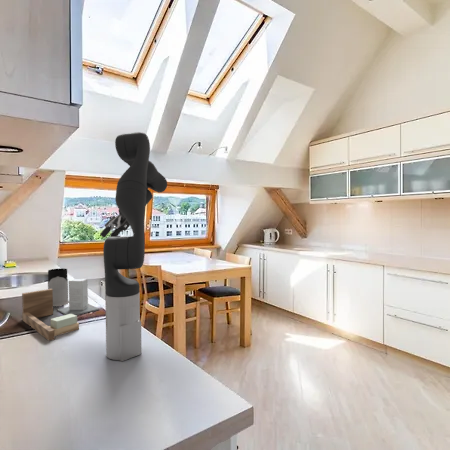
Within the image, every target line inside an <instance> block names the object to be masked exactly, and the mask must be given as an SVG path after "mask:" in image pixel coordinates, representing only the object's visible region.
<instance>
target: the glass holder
mask: <svg viewBox="0 0 450 450" xmlns="http://www.w3.org/2000/svg"><path fill="white" fill-rule="evenodd" d="M47 289H53V306H56V307H61V306H62V305H63V306H67V305H69V304H68V303H69V279H68V268H53V269H48V270H47Z"/></svg>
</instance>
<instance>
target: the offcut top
mask: <svg viewBox="0 0 450 450" xmlns="http://www.w3.org/2000/svg"><path fill="white" fill-rule="evenodd" d="M77 322H78V315H74V314H68V315H64V314H63V315H61V316H57V317H53V318H50V326H51V327H53V328H56V329H59V328H62V327H65V326H69V325H72V324H75V323H77Z"/></svg>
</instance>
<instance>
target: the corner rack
mask: <svg viewBox="0 0 450 450" xmlns="http://www.w3.org/2000/svg"><path fill="white" fill-rule="evenodd" d="M21 296H22V298H21V299H22V300H21V304H22V306H21V307H22V308H21V309H22V314H21V316H22V321H23V322H24V323H25V324H26V325H28V326H29V327H30V326H31V327H30V328H32V329H33V330H34V329H35V330H34V331H36V332H37V333H38V334H39V335H41V336H42V337H43V338H45V339H46V340H48V341H49V342H50V341H53V340H55V336H54V330H53V329H52V328H50V327H49V326H50V325H47V324H46V323H44V322H43V321H42V320H40V319H39V318H42V317H47V316H52V315H54V307H53V289H48V288H46V289H41V290H35V291H28V292H22V293H21Z"/></svg>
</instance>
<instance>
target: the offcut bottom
mask: <svg viewBox="0 0 450 450" xmlns="http://www.w3.org/2000/svg"><path fill="white" fill-rule="evenodd" d="M48 326H49V327H50V328H52V329H53V330H54V337H57V336H60V335H64V334H68V333H71V332H74V331H75V332H76V331H78V330H79V329H80V323H79V322H78V321H77V323H75V324H72V325H69V326H65V327H62V328H59V329H56V328H53V327H51V325H48Z"/></svg>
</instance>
